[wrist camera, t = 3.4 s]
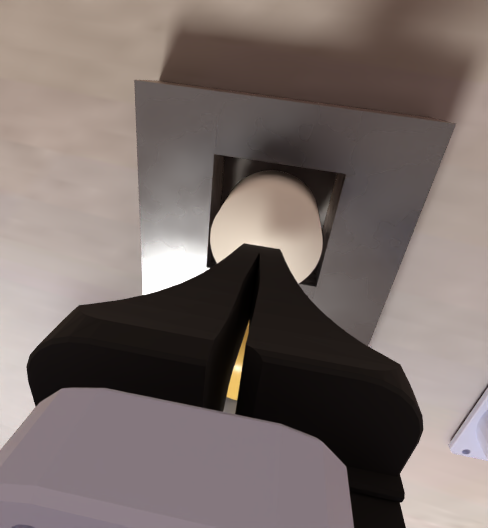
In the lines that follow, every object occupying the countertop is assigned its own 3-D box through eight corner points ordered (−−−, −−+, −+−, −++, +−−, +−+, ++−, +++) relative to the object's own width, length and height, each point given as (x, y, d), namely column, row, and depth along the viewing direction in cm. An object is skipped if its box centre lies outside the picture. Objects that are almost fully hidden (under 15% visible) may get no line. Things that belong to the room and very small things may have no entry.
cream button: (328, 178, 14) (335, 199, 12) (307, 266, 16) (309, 300, 14) (229, 163, 15) (214, 180, 12) (221, 251, 17) (206, 281, 14)
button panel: (431, 117, 14) (456, 123, 12) (310, 452, 26) (312, 486, 23) (158, 80, 15) (134, 79, 13) (161, 421, 27) (149, 450, 24)
